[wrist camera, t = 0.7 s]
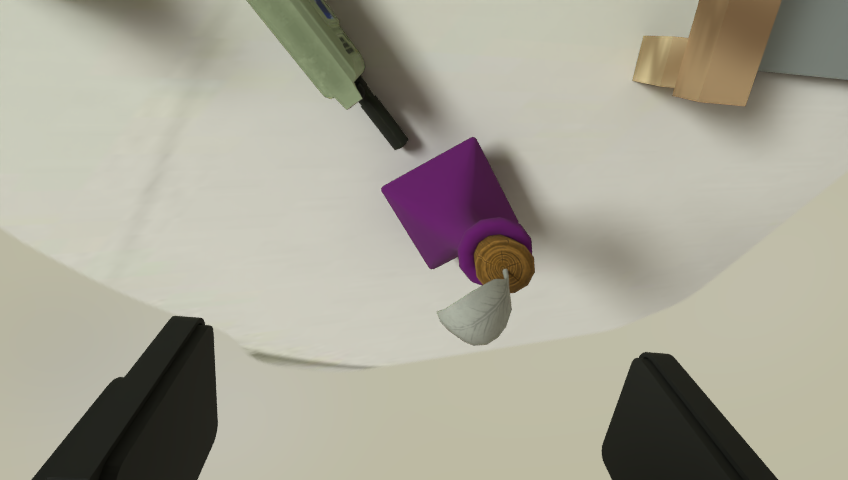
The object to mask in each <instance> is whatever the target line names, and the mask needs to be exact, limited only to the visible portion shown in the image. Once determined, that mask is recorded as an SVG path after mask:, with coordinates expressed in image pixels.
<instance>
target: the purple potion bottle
mask: <svg viewBox="0 0 848 480" xmlns="http://www.w3.org/2000/svg"><path fill="white" fill-rule="evenodd" d="M381 190H382V193H383V194H384V196H385V197H386V199H387V201H388V202H389V204H390V206H391V207H392V209H393V210H394V212H395V214H396V215H397V217H398V219H399V220H400V222H401V223H402V225H403V227H404V228H405V230H406V231H407V233H408V235H409V236H410V238H411V240H412V241H413V243H414V244H415V246H416V248H417V249H418V251H419V253H420V254H421V256H422V257H423V259H424V261H425V262H426V264H427V265H428V267H429V268H430V269H435V268H437V267H439V266H441V265H443V264H445V263H447V262H449V261H451V260H453V259H454V258H456V257H458V258H459V267H460V268H461V270H462V271H463V272H464V273H465V275H466V276H467V277H468V278H469V279H470V281H472V282H474V283H477V284H479V285H482V286H481V287H479V288H477V289H476V290H474V291H472V292H471V293H469V294H467V295H466V296H464V297H463V298H461V299H460V300H458V301H457V302H455V303H453V304H452V305H450V306H449V307H447V308H446V309H443V310H440V311H438V312H437V314H438V317H439V319H440V322H441V323H442V324H443V325H444V326H445V327H446V328H447V329H448V330H449V331H450V332H451V333H453V334H454V335H456V336H457V337H458V338H460V339H461V340H462V341H464V342H466V343H469V344H471V345H473V346H475V345H487V344H489V343H490V342H492V341H493V340H495V339H496V338H498V337H499V335H500V334H501V333H502V331H503V330H504V329H505V327H506V325H507V322H508V319H509V316H510V313H511V310H512V308H511V299H510V293H515V292H517V291H519V290H520V289H522V288H524V287H525V286H527V285H528V284H529V282H530V280H531V278H532V276H533V274H534V273H535V267H534V257H533V256H532V241H531V238H530V236H529V235H528V234H527V232H526V231H525V230H524V229H523V227H522V226H521V225H520V224H519V223H518V220H517V218H516V216H515V214H514V212H513V210H512V208H511V206H510V204H509V202H508V200H507V198H506V196H505V194H504V192H503V190H502V188H501V186H500V185H499V183H498V181H497V179H496V177H495V175H494V173H493V171H492V169H491V167H490V165H489V163H488V161H487V159H486V157H485V155H484V153H483V151H482V149H481V147H480V145H479V143H478V141H477V139H476V138H475V137H471V138H469V139H467V140H466V141H464V142H462V143H460V144H458V145H457V146H455V147H453V148H451V149H449V150H448V151H446V152H444V153H442V154H440V155H438V156H437V157H435V158H433V159H431V160H429V161H428V162H426V163H424V164H422V165H420V166H419V167H417V168H415V169H413V170H411V171H410V172H408V173H406V174H404V175H402V176H401V177H399V178H397V179H395V180H393V181H391V182H390V183H388V184H386V185H384V186H383V187H382V188H381Z"/></svg>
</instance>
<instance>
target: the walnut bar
mask: <svg viewBox="0 0 848 480" xmlns="http://www.w3.org/2000/svg"><path fill="white" fill-rule="evenodd" d="M781 1H782V0H699V3H698V7H697V10H696V14H695V17H694V21H693V24H692V28H691V31H690V35H689V38H688V42H687V45H686V49H685V53H684V56H683V60H682V63H681V67H680V70H679V74H678V77H677V81H676V84H675V88H674V91H673V95H672V96H675V97H680V98H684V99H688V100H692V101H696V102H704V103H715V104H725V105H736V106H746V103H747V100H748V97H749V94H750V91H751V88H752V85H753V83H754V80H755V77H756V74H757V71H758V68H759V65H760V62H761V59H762V56H763V53H764V50H765V48H766V45H767V42H768V39H769V36H770V33H771V30H772V27H773V24H774V21H775V18H776V15H777V12H778V10H779V7H780V4H781Z"/></svg>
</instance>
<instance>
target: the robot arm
mask: <svg viewBox="0 0 848 480" xmlns="http://www.w3.org/2000/svg"><path fill="white" fill-rule="evenodd" d="M217 426H218V419H217V397H216V376H215V355H214V334H213V328H212V326H209V325H205V322H204V320H203V319H202V318H196V317H183V316H173V317H172V318H171V319H170V320H169V321H168V322H167V324H166V325H165V326H164V327H163V329H162V330H161V331H160V332H159V334H158V335H157V336H156V338H155V339H154V340H153V341H152V343H151V344H150V345H149V346H148V348H147V349H146V350H145V352H144V353H143V354H142V356H141V357H140V358H139V359H138V361H137V362H136V363H135V364H134V366H133V367H132V368H131V370H130V371H129V372H128V374H127V375H126V376H125V377H118V378H116V379H114V380H113V381H112V382H111V383H110V384H109V385H108V386H107V387H106V388H105V390H104V391H103V392H102V394H101V395H100V396H99V397H98V398H97V399H96V401H95V402H94V403H93V404H92V406H91V407H90V408H89V409H88V411H87V412H86V413H85V414H84V416H83V417H82V418H81V419H80V421H79V422H78V423H77V424H76V425H75V427H74V428H73V429H72V430H71V432H70V433H69V434H68V435H67V437H66V438H65V439H64V440H63V441H62V443H61V444H60V445H59V446H58V448H57V449H56V450H55V451H54V453H53V454H52V455H51V456H50V458H49V459H48V460H47V461H46V463H45V464H44V465H43V466H42V467H41V469H40V470H39V471H38V472H37V474H36V475H35V476H34V477H33V479H32V480H197V479H198V477H199V475H200V472H201V470H202V468H203V466H204V463H205V461H206V459H207V457H208V454H209V452H210V450H211V448H212V445H213V443H214V440H215V437H216V433H217ZM602 458H603V461H604V464H605V466H606V468H607V470H608V472H609V474H610V476H611V478H612V480H778V479H777V478H776V477H775V475H774V474H773V473H772V472H771V471H770V470H769V468H768V467H767V466H766V465H765V464H764V462H763V461H762V460H761V459H760V458H759V457H758V455H757V454H756V453H755V452H754V451H753V450H752V448H751V447H750V446H749V445H748V444H747V443H746V441H745V440H744V439H743V438H742V437H741V435H740V434H739V433H738V432H737V431H736V430H735V428H734V427H733V426H732V425H731V424H730V423H729V421H728V420H727V419H726V418H725V417H724V416H723V414H722V413H721V412H720V411H719V410H718V408H717V407H716V406H715V405H714V404H713V403H712V402H711V400H710V399H709V398H708V397H707V396H706V394H705V393H704V392H703V391H702V390H701V389H700V387H699V386H698V385H697V384H696V383H695V381H694V380H693V379H692V378H691V377H690V376H689V374H688V373H687V372H686V371H685V370H684V369H683V367H682V366H681V365H680V364H679V363H678V362H677V360H676V359H675V358H674V357H673V356H672V355H670V354H663V353H650V352H649V353H648V352H645V353H642V354H641V355H640V356H639V358H635V359H634V360H633V361H632V364H631V366H630V369H629V372H628V375H627V377H626V380H625V383H624V386H623V389H622V392H621V394H620V397H619V400H618V403H617V406H616V408H615V411H614V414H613V417H612V419H611V422H610V425H609V428H608V431H607V433H606V436H605V439H604V442H603V445H602Z"/></svg>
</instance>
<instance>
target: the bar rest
mask: <svg viewBox="0 0 848 480" xmlns="http://www.w3.org/2000/svg"><path fill="white" fill-rule="evenodd" d="M687 42H688V38H682V37H670V36H643V40H642V44H641V48H640V52H639V56H638V60H637V64H636V68H635V72H634V76H633V80H632V81H637V82H642V83H646V84H651V85H656V86H661V87H671V88H675V84H676V81H677V77H678V74H679V70H680V67H681V63H682V60H683V56H684V53H685V49H686V45H687Z"/></svg>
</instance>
